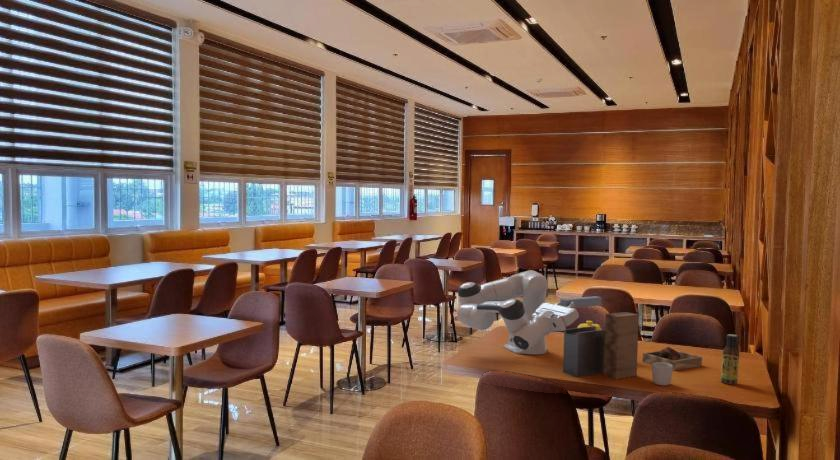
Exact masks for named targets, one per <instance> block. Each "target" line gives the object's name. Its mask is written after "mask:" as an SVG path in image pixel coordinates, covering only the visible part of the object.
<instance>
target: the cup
mask: <svg viewBox="0 0 840 460" xmlns="http://www.w3.org/2000/svg"><path fill="white" fill-rule="evenodd" d="M672 369H673V365H671V364H669V363H663V362H654V363H652V364H651V371H652V382H653V383H654V384H655V385H658V386H662V387H663V386H669V385H670V384H671V381H672V377H673V370H672Z"/></svg>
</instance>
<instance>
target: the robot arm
mask: <svg viewBox="0 0 840 460" xmlns="http://www.w3.org/2000/svg"><path fill="white" fill-rule="evenodd" d="M548 286H549V284H548V280H547V278H546V277H545V276H544V275H543V274H542V273H540V272H537V271H535V270H531V269H530V270H529V269H528V270H526V271H522V272H520V273H516V274H513V275H510V276H509V277H505V278H500V279H496V280H492V281H489V282H486V283H483V284H481V285H479V283H476V282H474V281H469V282H464V283H462V284H460V285H459V286H458V288H457V296H458V299H459V305H460V306H459V307H458V309H457V312H456V317H457V319H458V321H459V322H460V323H462V324H463V325H464V326H467V327H468V328H471V329H475V330H478V331H486V330H488V329H490V328H491V327H492V326H493V324H494V323H495V320H496V314H499V315H500V316H501V318H502V320H503V323H504V325H505V327H506V329H507V332H508V334H509V336H508V343H504V344H503V348H505V349H507V350H509V351H511V352H513V353H515V354H522V355H523V354H524V355H543V354H546V353H547V350H548V347H547V342H546V336H548V335H549V334H551V333H555V332H564V330H565V329H567V328H566V327H569V326H571V325H572V324H573V323H574V322H575V321H577V320H578V318H579V316H580V315H579V312H578V310H577V309H576V308H573V307H574V306H575V303H574V302H570V303H569V306H567V307H565V306H560V301H559V302H557V303H551V302H546V300H547V299H546V298H547V291H548ZM520 297H522V301H521V300H520V299H517V298H520Z"/></svg>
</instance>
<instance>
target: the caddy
mask: <svg viewBox="0 0 840 460" xmlns="http://www.w3.org/2000/svg"><path fill="white" fill-rule="evenodd" d="M674 350H675V351H676V352H678V353H679V354H680V355H681V357H680V360H678V359H677V358H676V357H675V356H673V355H671V353H670V356H669V357H668V359H665V358H661V357H658V355H659V352H660V351H661V350H656V351H650V352H644V353H642V363H645V364H649V365H652V363H654V362H663V363H669V364H671V365H673V369H672V372H674V371H680V370H684V369H691V368H697V367H702V365H703V356H700V355H696V354H692V353H687V352H684V351H679V350H676V349H674Z"/></svg>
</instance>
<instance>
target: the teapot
mask: <svg viewBox="0 0 840 460" xmlns="http://www.w3.org/2000/svg"><path fill="white" fill-rule="evenodd" d="M585 322H586V323H580V324H579V325H578V326H577V327H576V328H581V327H590V326H596V330H603V329H602V328H601V325H600V324H598V323H594V322H593V321H592V320H586V321H585Z"/></svg>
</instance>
